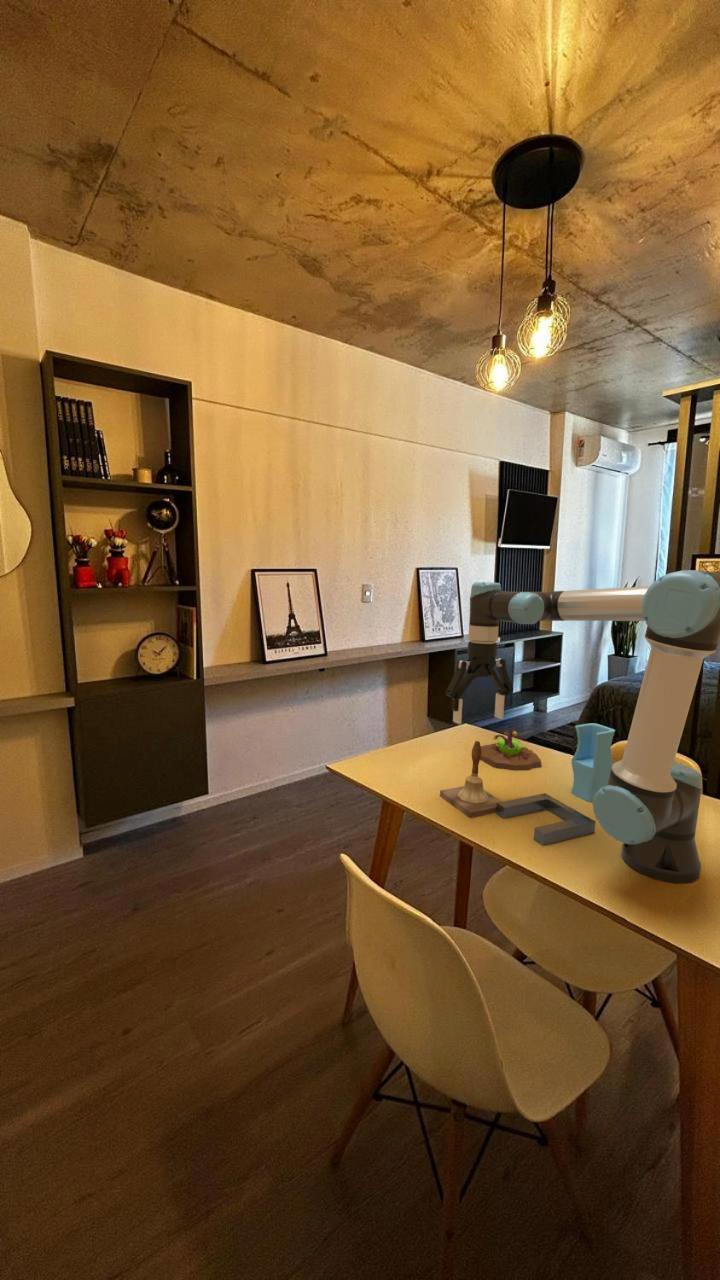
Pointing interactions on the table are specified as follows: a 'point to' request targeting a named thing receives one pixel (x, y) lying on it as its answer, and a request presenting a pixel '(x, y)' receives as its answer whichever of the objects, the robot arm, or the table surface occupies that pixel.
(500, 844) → the table surface
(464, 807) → the walnut board
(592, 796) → the light blue holder
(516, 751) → the plant
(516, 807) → the silver c-shaped bracket
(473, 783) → the hand bell
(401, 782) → the table surface
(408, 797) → the table surface
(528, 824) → the table surface
